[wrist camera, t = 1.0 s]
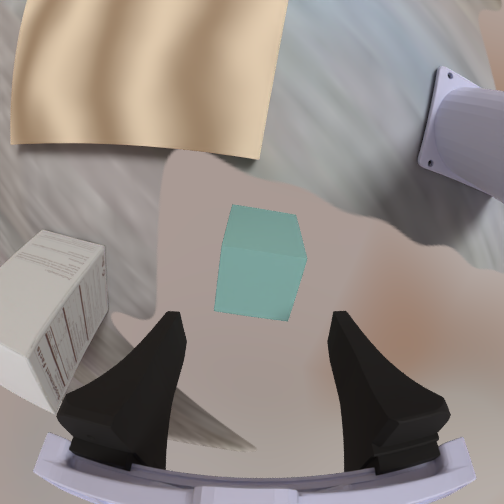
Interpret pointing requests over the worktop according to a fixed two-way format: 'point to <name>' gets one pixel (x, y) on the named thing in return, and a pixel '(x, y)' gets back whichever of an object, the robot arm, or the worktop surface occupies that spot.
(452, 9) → the worktop surface
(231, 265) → the teal block
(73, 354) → the supplement box
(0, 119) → the worktop surface
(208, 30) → the birch board
